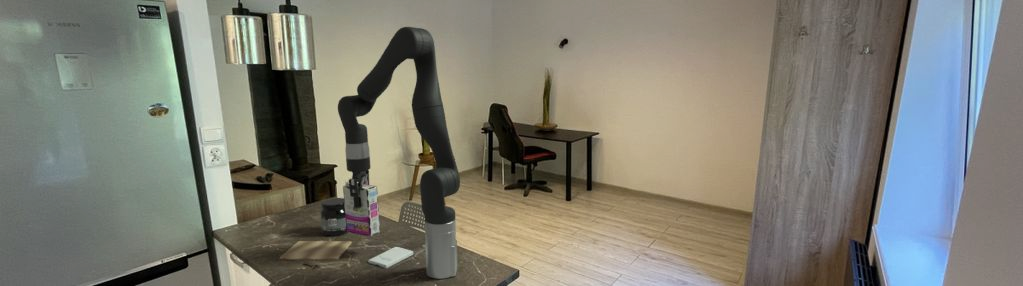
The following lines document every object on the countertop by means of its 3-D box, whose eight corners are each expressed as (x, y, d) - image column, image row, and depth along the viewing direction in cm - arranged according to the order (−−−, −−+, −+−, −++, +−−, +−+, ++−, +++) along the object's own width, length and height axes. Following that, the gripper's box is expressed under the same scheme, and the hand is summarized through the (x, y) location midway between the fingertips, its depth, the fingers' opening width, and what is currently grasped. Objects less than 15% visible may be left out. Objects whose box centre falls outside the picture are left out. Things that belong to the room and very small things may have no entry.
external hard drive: (413, 255, 160) (386, 269, 149) (395, 250, 164) (368, 263, 154) (413, 251, 160) (386, 264, 149) (395, 246, 164) (367, 259, 153)
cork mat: (351, 242, 169) (351, 241, 169) (337, 259, 155) (337, 257, 155) (298, 242, 169) (298, 241, 169) (279, 259, 155) (279, 257, 155)
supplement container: (343, 224, 187) (341, 195, 185) (355, 231, 180) (354, 201, 178) (316, 231, 180) (314, 201, 178) (328, 239, 173) (326, 207, 170)
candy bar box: (381, 232, 161) (378, 185, 158) (370, 237, 156) (367, 189, 153) (356, 227, 165) (352, 182, 162) (345, 232, 161) (341, 185, 158)
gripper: (362, 160, 149) (366, 211, 152) (375, 151, 163) (378, 198, 166) (338, 160, 149) (342, 211, 152) (353, 151, 163) (356, 198, 166)
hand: (361, 204), depth 159 cm, fingers closed on candy bar box, 6 cm apart
